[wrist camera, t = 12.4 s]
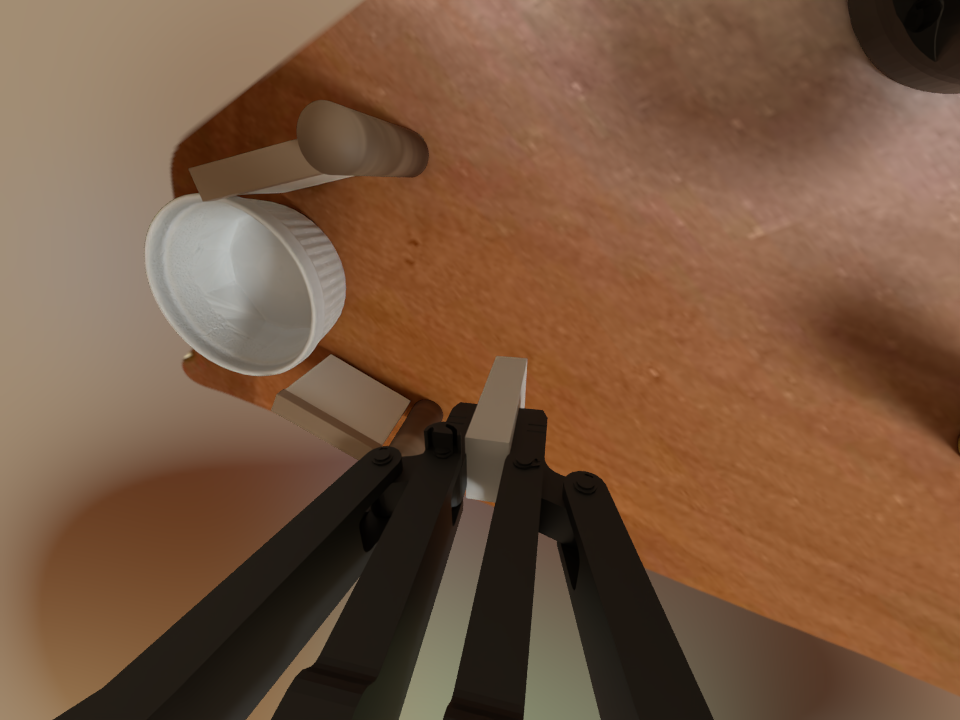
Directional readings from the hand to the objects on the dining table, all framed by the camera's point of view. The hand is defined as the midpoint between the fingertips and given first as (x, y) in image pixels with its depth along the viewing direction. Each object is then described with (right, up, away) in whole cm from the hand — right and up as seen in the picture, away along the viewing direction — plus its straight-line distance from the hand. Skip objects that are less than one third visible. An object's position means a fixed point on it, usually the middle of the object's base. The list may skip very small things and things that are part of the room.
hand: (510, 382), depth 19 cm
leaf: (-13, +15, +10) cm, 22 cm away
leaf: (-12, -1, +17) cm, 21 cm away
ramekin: (-18, +9, +15) cm, 25 cm away
